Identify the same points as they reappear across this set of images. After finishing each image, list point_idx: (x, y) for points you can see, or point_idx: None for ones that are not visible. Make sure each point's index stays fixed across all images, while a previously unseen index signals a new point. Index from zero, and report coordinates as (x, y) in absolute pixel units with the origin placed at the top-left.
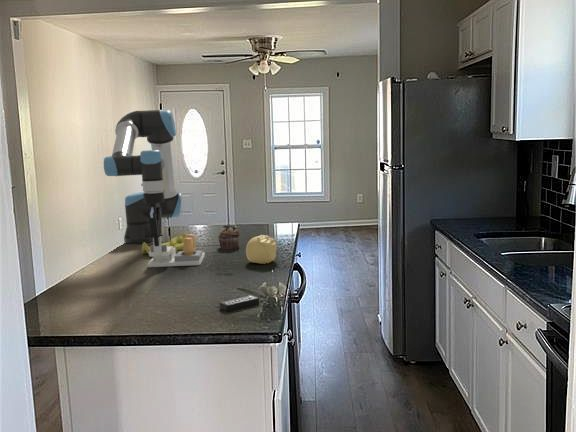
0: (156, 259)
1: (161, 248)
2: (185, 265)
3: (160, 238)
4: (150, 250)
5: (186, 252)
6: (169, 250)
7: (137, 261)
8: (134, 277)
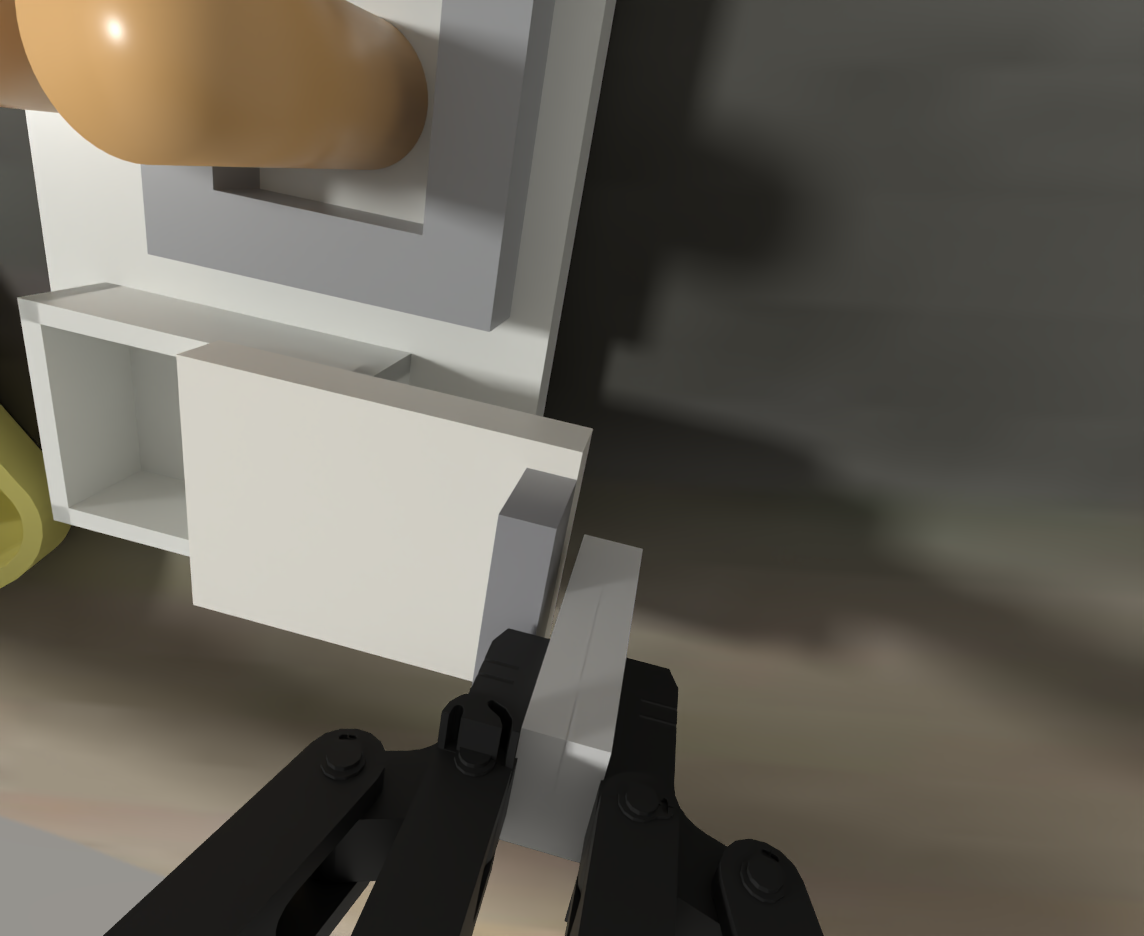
0: None
1: (583, 581)
2: (586, 164)
3: (576, 716)
4: (23, 573)
5: (377, 122)
6: (488, 428)
7: (234, 651)
8: (915, 730)
